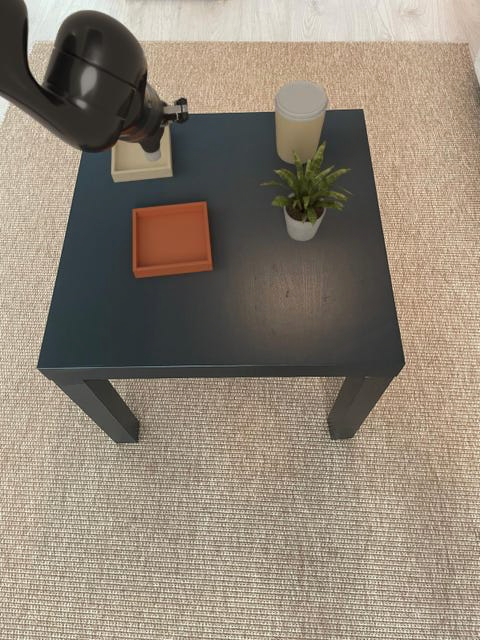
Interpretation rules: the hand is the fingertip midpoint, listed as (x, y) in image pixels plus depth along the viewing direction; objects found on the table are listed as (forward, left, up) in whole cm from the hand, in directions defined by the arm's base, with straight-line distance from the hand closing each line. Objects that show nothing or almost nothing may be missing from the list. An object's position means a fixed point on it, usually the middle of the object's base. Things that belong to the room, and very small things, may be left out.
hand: (146, 120), depth 72 cm
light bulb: (0, -2, -6) cm, 7 cm away
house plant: (+23, -10, -19) cm, 31 cm away
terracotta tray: (+1, -9, -19) cm, 21 cm away
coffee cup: (+26, +10, -19) cm, 34 cm away
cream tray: (-4, +12, -19) cm, 23 cm away
